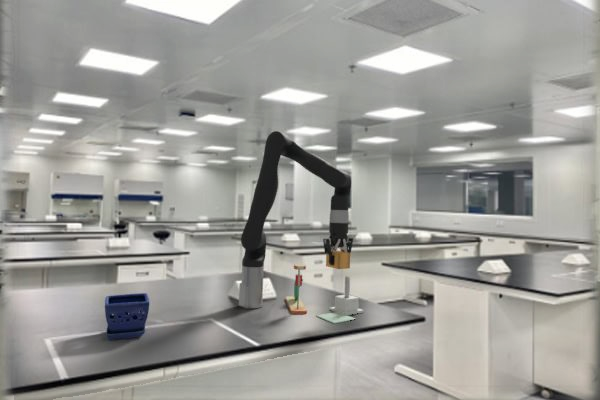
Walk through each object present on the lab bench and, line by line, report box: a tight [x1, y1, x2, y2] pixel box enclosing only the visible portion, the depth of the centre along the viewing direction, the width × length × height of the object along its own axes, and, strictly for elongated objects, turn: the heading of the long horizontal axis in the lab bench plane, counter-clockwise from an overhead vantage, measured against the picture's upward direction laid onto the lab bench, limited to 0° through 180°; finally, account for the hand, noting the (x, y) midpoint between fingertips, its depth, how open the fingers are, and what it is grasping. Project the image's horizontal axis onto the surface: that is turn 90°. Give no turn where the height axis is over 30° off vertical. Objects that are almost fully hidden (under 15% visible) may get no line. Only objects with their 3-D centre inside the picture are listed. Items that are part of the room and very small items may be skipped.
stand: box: [329, 275, 365, 316], centre depth 169 cm, size 10×10×14 cm
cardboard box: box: [325, 250, 351, 270], centre depth 158 cm, size 5×8×6 cm
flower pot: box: [104, 292, 150, 341], centre depth 131 cm, size 13×13×12 cm
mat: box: [316, 311, 357, 325], centre depth 158 cm, size 11×11×1 cm
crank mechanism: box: [284, 263, 308, 315], centre depth 174 cm, size 25×7×19 cm, turn 8°
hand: (337, 264), depth 158 cm, fingers closed on cardboard box, 5 cm apart
